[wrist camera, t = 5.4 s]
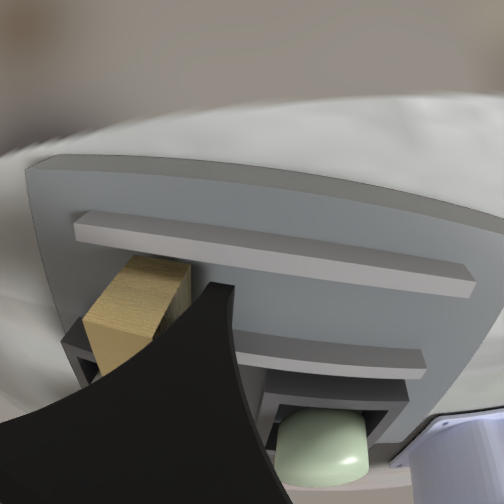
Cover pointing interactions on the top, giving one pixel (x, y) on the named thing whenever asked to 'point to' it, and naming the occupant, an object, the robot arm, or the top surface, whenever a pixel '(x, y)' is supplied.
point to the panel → (285, 276)
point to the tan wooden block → (136, 308)
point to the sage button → (321, 447)
